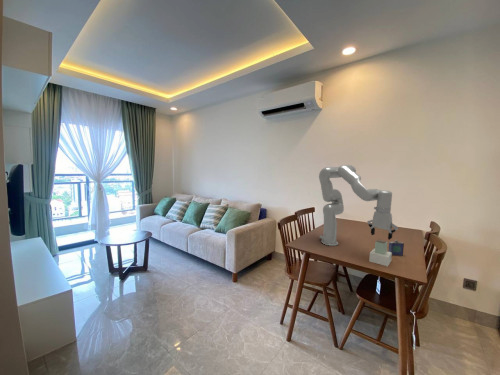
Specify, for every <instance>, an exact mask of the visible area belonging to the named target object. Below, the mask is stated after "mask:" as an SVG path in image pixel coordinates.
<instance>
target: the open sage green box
mask: <svg viewBox="0 0 500 375" xmlns="http://www.w3.org/2000/svg"><path fill="white" fill-rule="evenodd" d="M374 248H375V252H376V253H379V254H382V255H384V254H386V253H387V252H388V241H386V240H383V239H378V240H376V241H375V243H374Z"/></svg>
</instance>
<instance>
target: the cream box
mask: <svg viewBox="0 0 500 375" xmlns="http://www.w3.org/2000/svg"><path fill="white" fill-rule="evenodd" d="M392 257H393V256H392V253H391V252H388V251H387V253H386V254H384V255H382V254H379V253H376V252H375V247H374V248H373V249H372V250H371V251H370V252H369V258H368V260H369V261H368V262H369V263H370V262H371V263H374V264H377V265H380V266H384V267H389V266H390V264H391V262H392Z"/></svg>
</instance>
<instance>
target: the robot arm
mask: <svg viewBox="0 0 500 375" xmlns="http://www.w3.org/2000/svg"><path fill="white" fill-rule="evenodd" d="M356 171H357V170H356V167H355V166H353V165H352V164H342V165H340V166H326V167H324V168H322V169H321V170H320V171H319V173H318V179H319V183H320V189H321V195H322V199H323V201H324V202H327V203H326V204H325V205H324V206H323V208H322V214H323V235H321V234H320V235H319V239H321V241H320V243H321V242H322V243H323V245H324V244H325V246H328V245H329V246H330V247H333V246H338V245H339V242H338V241H337V226H338V224H337V222H338V221H337V218H336V216H338V215H342V214H343V213H344V210H345V208H344V202H343V201H344V200H343V195H342V193H341V191H340V190H338V189H335V188H333V183H332V181H331V180H330V179H338V178H342V179H343V180H344V181H345V182H347V184H349V186H351V190H352V192H353V193H354V194H355V195H356V196H357V197H358V198H360V199H361V200H362V201H364V202H373V201H376V206H374V207H373V210H375V211H374V213H373V216H372V219H370V220H367V225H368V226H369V228H370V236H373V235H375V234H376V233H375V232H376V231H375V230H376V229H380V230H385V231H388V236H387V239H388V240H391V239H393V234H394V233H395V232H396V231H398V229H399V227H398V226H397V225H396V224H394V223H393V215H392V213H391V210H392V198H393V192H392V191H390V190H382V189H377V188H367V187H365V186H364V185H363V184H362V183H361V180H362V177H361V176H360V174H358V173H357V172H356ZM393 228H394V229H393ZM322 243H321V244H322Z"/></svg>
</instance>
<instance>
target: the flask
mask: <svg viewBox="0 0 500 375" xmlns="http://www.w3.org/2000/svg"><path fill="white" fill-rule="evenodd" d="M404 247H405V243H404V242H402V241H398V240H397V239H395V240H394V241H388V249H387V252H391V253H392V257H393V256H394V257H395V256H398V257H402V256H403V255H404V249H405V248H404Z"/></svg>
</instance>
